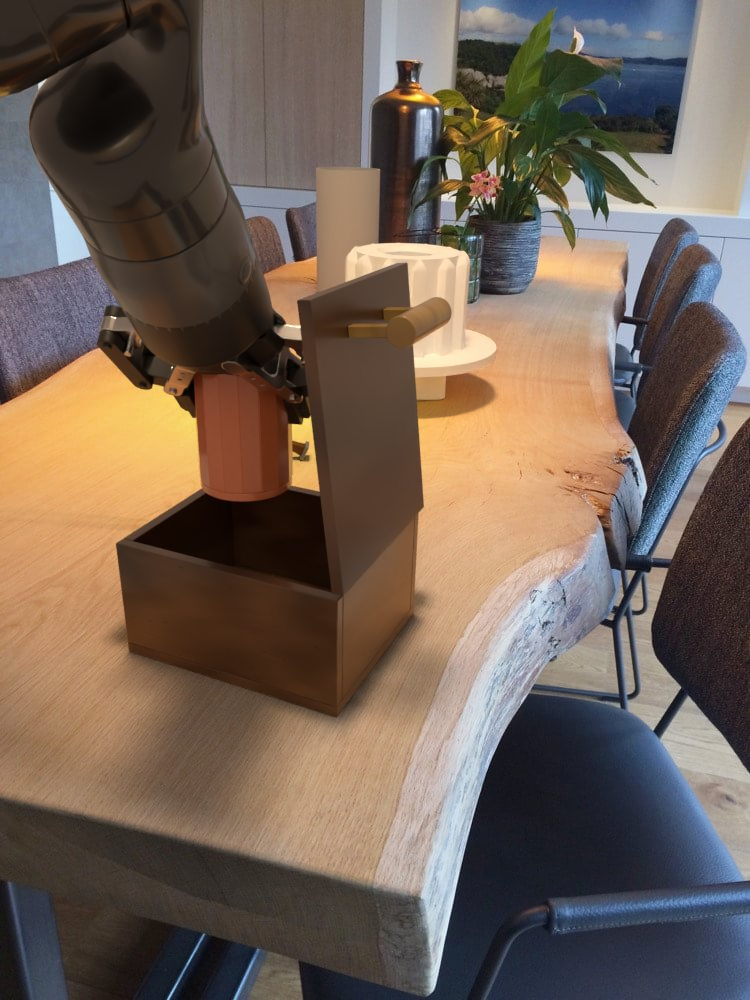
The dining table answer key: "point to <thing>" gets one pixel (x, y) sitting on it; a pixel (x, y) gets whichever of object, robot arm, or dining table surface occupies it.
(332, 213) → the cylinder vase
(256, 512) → the chest
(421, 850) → the dining table surface
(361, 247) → the flanged gear
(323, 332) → the lid
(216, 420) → the cup
